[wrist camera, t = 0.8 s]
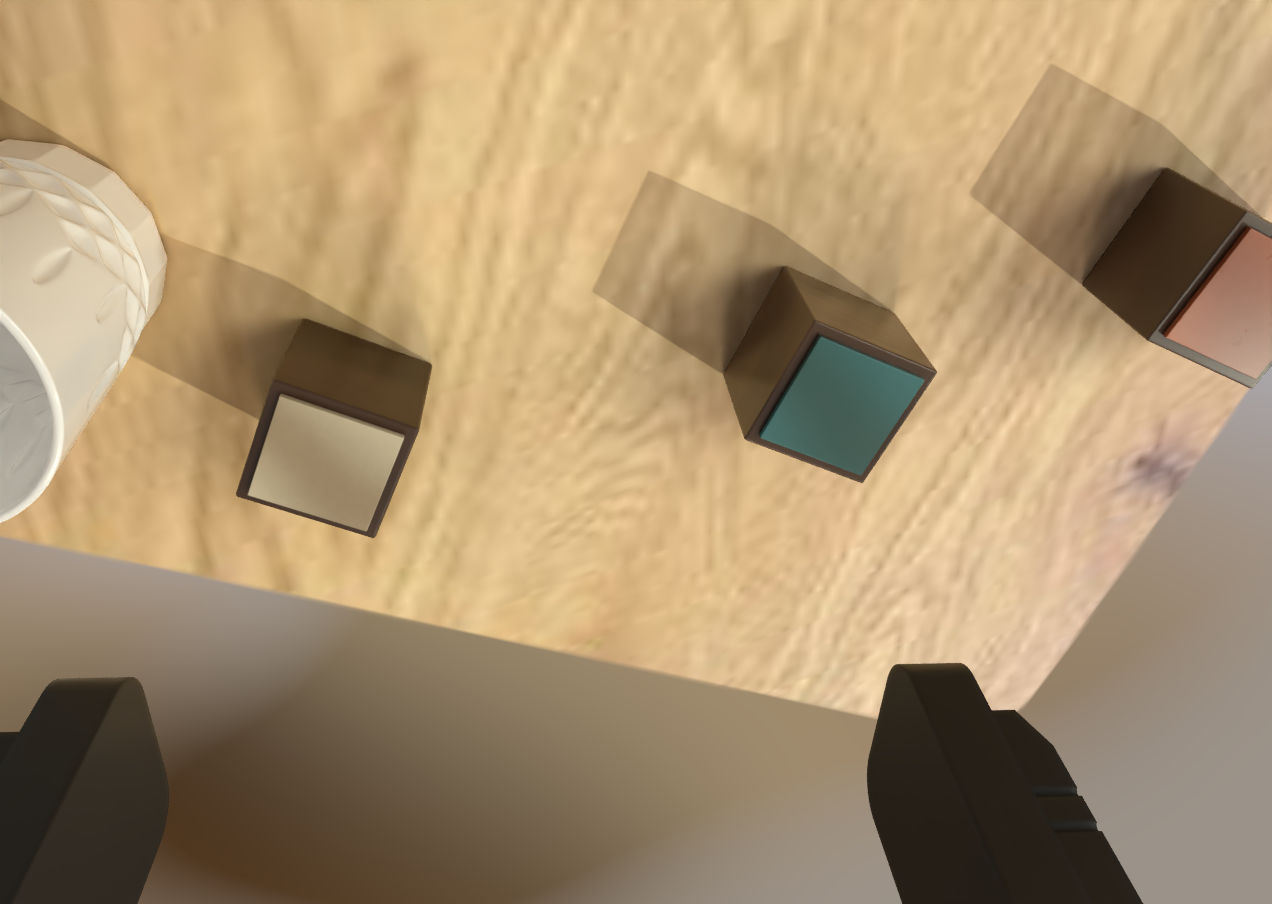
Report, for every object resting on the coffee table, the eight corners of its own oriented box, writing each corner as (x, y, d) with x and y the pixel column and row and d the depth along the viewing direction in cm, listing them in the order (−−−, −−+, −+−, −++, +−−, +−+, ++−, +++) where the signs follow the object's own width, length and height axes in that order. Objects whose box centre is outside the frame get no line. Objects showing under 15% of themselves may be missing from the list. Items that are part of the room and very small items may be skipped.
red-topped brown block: (1165, 166, 33) (1250, 212, 29) (1265, 219, 34) (1360, 270, 30) (1080, 284, 35) (1149, 343, 31) (1177, 330, 36) (1256, 392, 32)
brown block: (303, 316, 34) (270, 382, 30) (433, 363, 35) (418, 432, 31) (267, 424, 36) (233, 500, 32) (392, 466, 37) (373, 543, 33)
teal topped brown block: (784, 264, 34) (816, 322, 30) (895, 313, 35) (940, 375, 31) (722, 374, 36) (745, 443, 32) (830, 416, 37) (864, 487, 33)
